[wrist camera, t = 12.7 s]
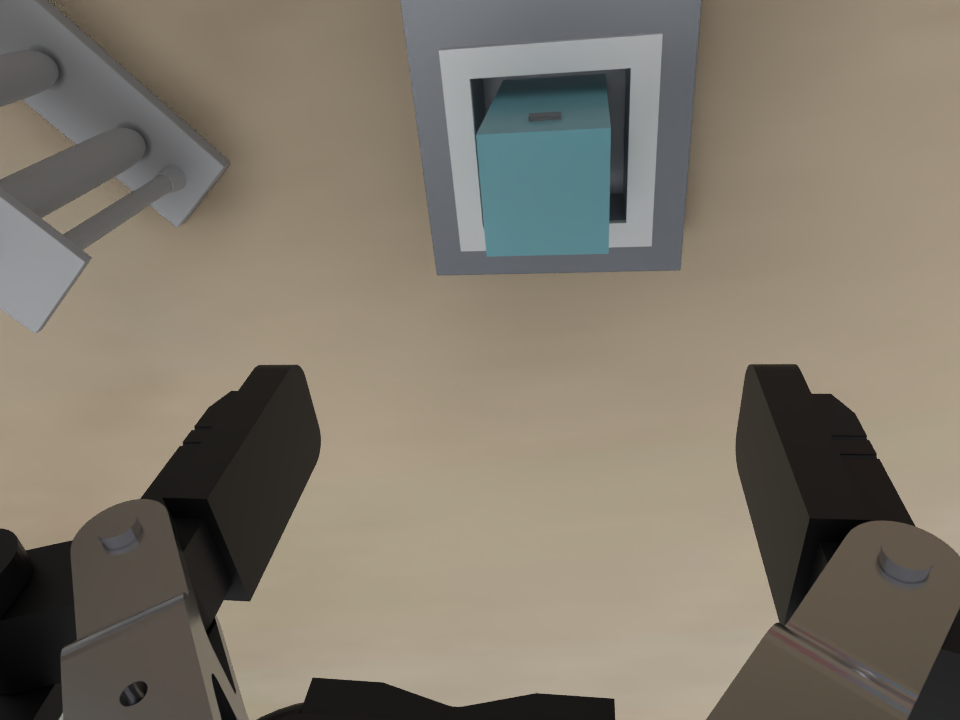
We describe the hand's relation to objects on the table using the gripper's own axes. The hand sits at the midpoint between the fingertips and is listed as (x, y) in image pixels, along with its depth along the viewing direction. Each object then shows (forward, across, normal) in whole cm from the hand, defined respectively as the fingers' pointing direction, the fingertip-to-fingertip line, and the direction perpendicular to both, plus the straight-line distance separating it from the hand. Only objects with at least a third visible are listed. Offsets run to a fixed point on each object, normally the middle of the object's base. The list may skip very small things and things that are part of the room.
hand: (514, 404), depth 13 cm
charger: (+19, 0, 0) cm, 19 cm away
